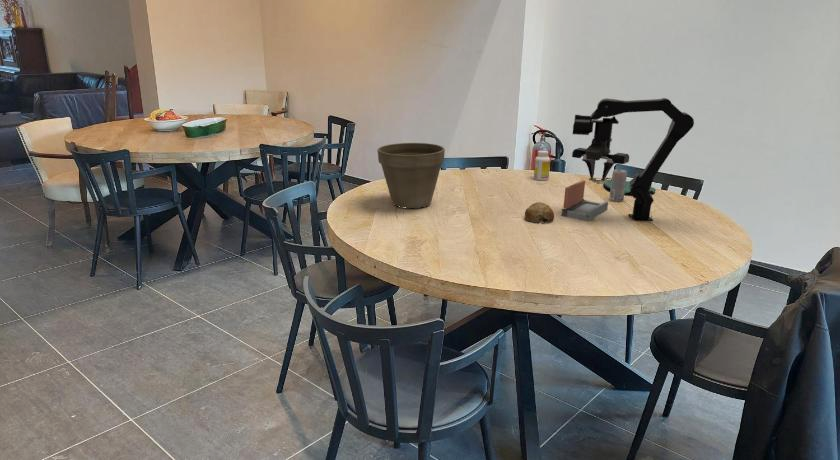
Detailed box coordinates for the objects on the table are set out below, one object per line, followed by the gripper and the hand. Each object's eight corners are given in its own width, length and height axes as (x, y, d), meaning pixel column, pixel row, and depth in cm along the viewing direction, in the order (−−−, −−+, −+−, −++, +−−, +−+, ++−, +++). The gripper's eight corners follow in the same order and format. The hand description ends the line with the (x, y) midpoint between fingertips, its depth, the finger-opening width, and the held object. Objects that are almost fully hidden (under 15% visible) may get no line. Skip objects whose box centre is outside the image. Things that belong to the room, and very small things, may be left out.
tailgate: (583, 199, 212) (585, 180, 209) (566, 208, 201) (568, 188, 198) (579, 199, 213) (581, 180, 210) (562, 207, 201) (564, 187, 199)
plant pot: (369, 210, 205) (368, 152, 198) (389, 193, 227) (388, 140, 220) (435, 215, 199) (437, 156, 192) (448, 198, 222) (450, 144, 215)
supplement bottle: (550, 178, 255) (553, 151, 250) (545, 181, 249) (548, 153, 245) (536, 176, 258) (538, 149, 254) (531, 179, 253) (533, 151, 248)
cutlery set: (619, 197, 225) (620, 192, 225) (584, 181, 253) (584, 176, 253) (663, 196, 229) (664, 190, 229) (623, 180, 257) (624, 175, 257)
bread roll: (528, 233, 193) (534, 216, 188) (518, 213, 200) (523, 196, 195) (554, 230, 196) (561, 214, 191) (543, 211, 203) (549, 194, 198)
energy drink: (621, 198, 223) (625, 169, 220) (624, 202, 218) (628, 172, 214) (607, 198, 224) (611, 168, 220) (610, 201, 219) (614, 171, 215)
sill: (587, 205, 213) (587, 199, 212) (566, 216, 199) (567, 210, 199) (581, 204, 214) (582, 198, 214) (561, 215, 201) (561, 208, 200)
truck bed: (607, 209, 208) (608, 201, 207) (588, 221, 195) (589, 212, 194) (586, 205, 213) (587, 197, 212) (566, 216, 200) (567, 208, 199)
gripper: (567, 135, 193) (563, 179, 198) (620, 142, 182) (615, 188, 187) (580, 132, 201) (576, 174, 206) (632, 137, 190) (626, 182, 195)
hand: (597, 179), depth 198 cm, fingers open, 4 cm apart
